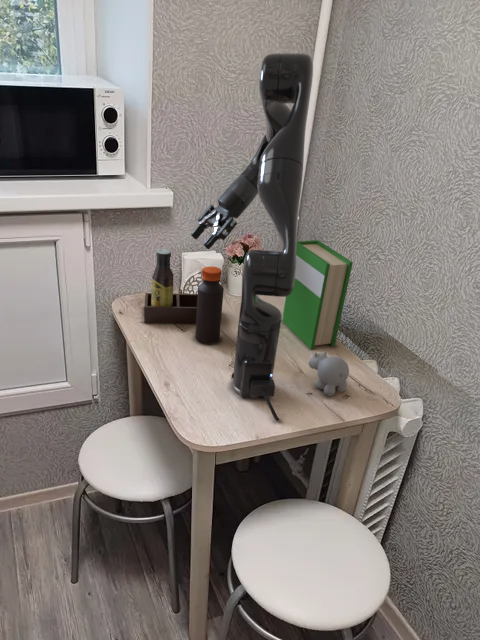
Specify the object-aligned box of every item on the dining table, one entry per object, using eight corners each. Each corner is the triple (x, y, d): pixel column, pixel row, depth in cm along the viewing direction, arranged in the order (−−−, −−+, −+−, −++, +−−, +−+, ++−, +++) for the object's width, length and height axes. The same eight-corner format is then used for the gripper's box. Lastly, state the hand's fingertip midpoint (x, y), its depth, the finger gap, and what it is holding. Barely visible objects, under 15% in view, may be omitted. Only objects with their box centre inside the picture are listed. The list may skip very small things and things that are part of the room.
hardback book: (334, 346, 144) (352, 262, 131) (310, 349, 142) (326, 264, 129) (304, 318, 158) (318, 240, 145) (282, 320, 156) (294, 241, 143)
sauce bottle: (148, 312, 157) (148, 247, 146) (167, 309, 159) (168, 245, 148) (156, 321, 152) (156, 255, 141) (176, 318, 154) (177, 253, 143)
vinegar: (206, 347, 140) (211, 276, 130) (190, 337, 145) (193, 268, 134) (224, 340, 144) (230, 270, 133) (208, 330, 148) (212, 263, 138)
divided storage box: (211, 324, 152) (212, 308, 149) (144, 323, 151) (144, 307, 148) (208, 309, 160) (209, 294, 158) (145, 308, 159) (145, 292, 157)
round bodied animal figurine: (321, 369, 134) (327, 339, 129) (350, 393, 124) (358, 363, 120) (297, 374, 131) (302, 344, 126) (325, 399, 122) (332, 368, 117)
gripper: (218, 181, 148) (180, 226, 150) (242, 194, 137) (201, 242, 140) (234, 199, 153) (197, 242, 155) (258, 212, 142) (218, 258, 145)
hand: (199, 242), depth 147 cm, fingers open, 8 cm apart
